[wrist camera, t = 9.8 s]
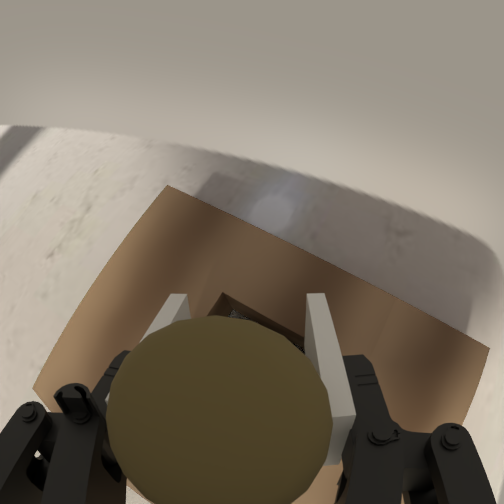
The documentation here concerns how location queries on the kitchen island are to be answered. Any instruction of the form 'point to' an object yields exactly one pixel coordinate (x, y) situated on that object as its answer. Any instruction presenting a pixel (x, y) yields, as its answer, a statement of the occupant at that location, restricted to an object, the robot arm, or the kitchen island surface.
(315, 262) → the wooden block with hole
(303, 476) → the cork
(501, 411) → the kitchen island surface
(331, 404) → the robot arm
